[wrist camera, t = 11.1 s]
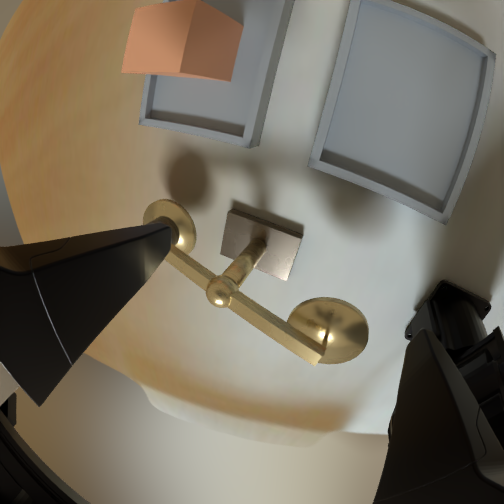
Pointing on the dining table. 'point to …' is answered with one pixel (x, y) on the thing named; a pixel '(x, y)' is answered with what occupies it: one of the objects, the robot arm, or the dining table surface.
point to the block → (182, 41)
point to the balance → (276, 264)
